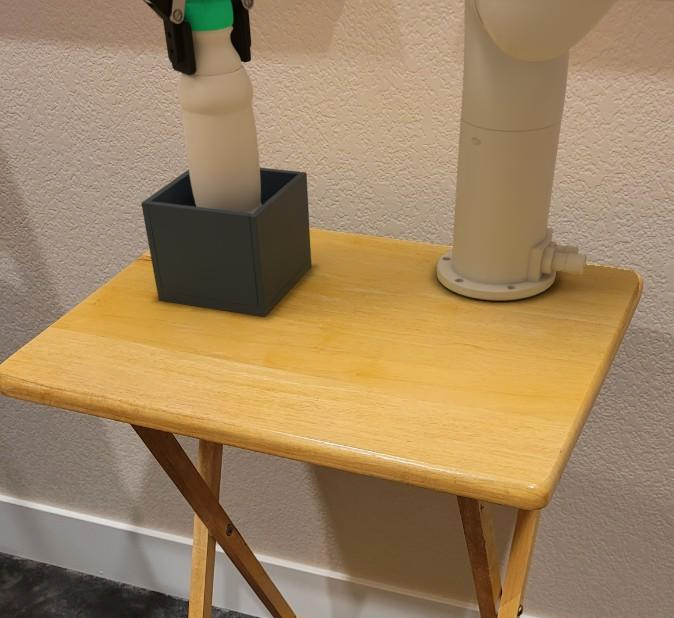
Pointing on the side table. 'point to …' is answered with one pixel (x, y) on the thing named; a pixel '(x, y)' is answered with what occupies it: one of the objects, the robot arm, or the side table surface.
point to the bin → (230, 245)
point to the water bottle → (219, 114)
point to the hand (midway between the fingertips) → (212, 63)
